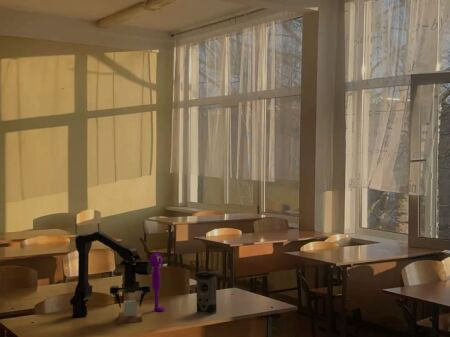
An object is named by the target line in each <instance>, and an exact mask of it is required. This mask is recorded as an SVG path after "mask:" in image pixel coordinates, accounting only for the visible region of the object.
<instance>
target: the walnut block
mask: <svg viewBox="0 0 450 337" xmlns="http://www.w3.org/2000/svg"><path fill="white" fill-rule="evenodd" d="M139 322H140V323H142V322H143V311H137V316H124V311H122V312H118V317H117V323H118V324H120V323H139Z"/></svg>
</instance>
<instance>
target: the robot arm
mask: <svg viewBox="0 0 450 337" xmlns="http://www.w3.org/2000/svg"><path fill="white" fill-rule="evenodd" d="M96 241H98V242H99V243H101V244H103V245H104V246H106V247H108V248H110V249H111V250H113V251H114V252H116V253H117V254H118V256H119V257H120V258H121V259H122V260H121V262H120V263H119V266H123V287H122V286H121V287H120V286H119V285H111V286H110V288H109V294H111V295H112V296H114V297H115V298H116V300H117V303H118V305H119V308H120V309H121V308H122V303H121V294H120V292H124V294H130V293H131V294H132V293H133V294H134V293H136V292H139V291H140V293H139V294H140V295H139V308H141V307H142V304H143V303H142V302H143V300H144V297H145V295H147V294H148V293H150V292H151V286H150V285H149V284H140V281H137V275H138V276H150V275H151V274H152V273H153V272H152V271H153V267H152V266H151V264H150V261H149V260H143V259H142V258H141V256H140V255H139V253H138V250H137V248H135V247H133V246H130V245H127V244H123V243H121V242H119V241H118V240H116V239H115V238H113V237H111V236H109V235H107V234H106V233H104V232H103V231H100V230H99V231H95V232H93V233H90V234H88V233H85V234H80V235H78V236H76V238H75V241H74V243H75V249H76V252H77V253H78V266H77V267H78V269H77V270H78V272H77V273H78V274H77V276H78V277H77V285H76V286H75V290H74V294H73V296H72V298H70V300H69V304H70V305H71V306H72V316H71V318H86V317H87V315H88V305H87V303H88V302H89V301H90V300H89V299H90V298H91V297H92V294H93V293H94V292H93V285H92V284H91V285H90V282H89V262H90V261H89V259H90V258H89V257H90V256H89V254H90V250H91V248H92V245H93V242H96ZM151 272H152V273H151ZM151 276H152V275H151Z"/></svg>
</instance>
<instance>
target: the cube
mask: <svg viewBox="0 0 450 337" xmlns="http://www.w3.org/2000/svg"><path fill="white" fill-rule="evenodd" d="M137 309H138V302H137V300H135V299H134V300H124V301H123V312H124V316H137V312H138V310H137Z"/></svg>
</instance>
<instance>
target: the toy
mask: <svg viewBox="0 0 450 337" xmlns="http://www.w3.org/2000/svg"><path fill="white" fill-rule="evenodd" d="M148 261H150V264H151V267H152V268H153V269H152V272H151V274H152V275H149V277H150V278H152V279H151V287H152V289H153V291H154V308H153V311H154V312H164V311H165V310H166V308H165V307H164V306H159V290H160V289H161V285H162V284H161V271H160V269H161V268H163V267H164V268H165V267H166V268H168V266H167V265H168V263H165V261H164V260H163V257H162V254H159V250H156V252H155V251H153V252H152V255H151V256H150V257H149V260H148ZM151 276H152V277H151Z"/></svg>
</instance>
